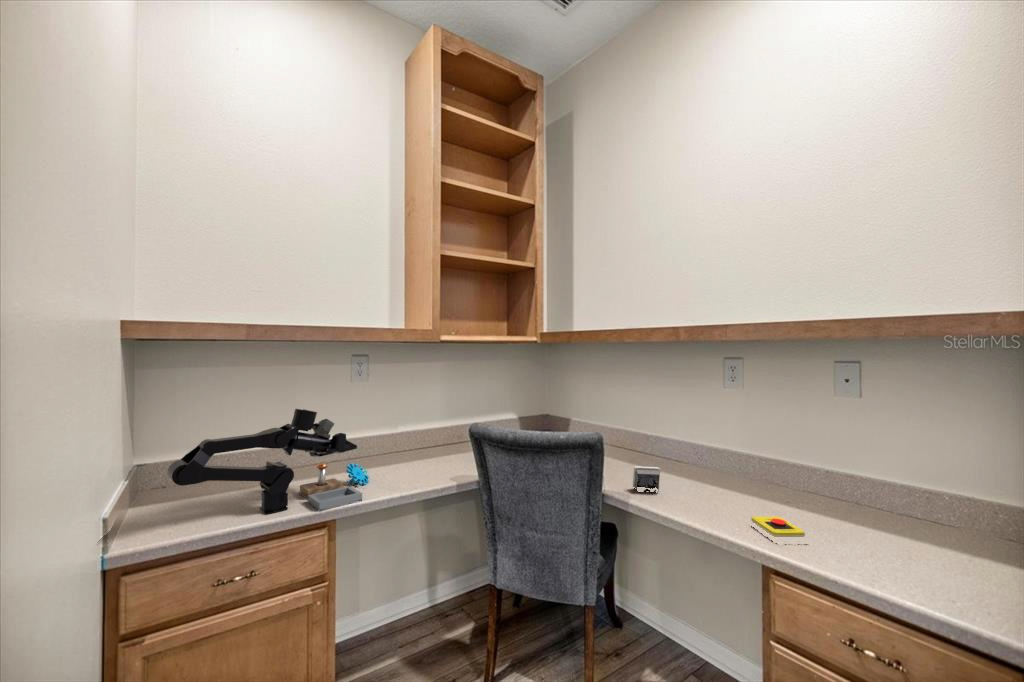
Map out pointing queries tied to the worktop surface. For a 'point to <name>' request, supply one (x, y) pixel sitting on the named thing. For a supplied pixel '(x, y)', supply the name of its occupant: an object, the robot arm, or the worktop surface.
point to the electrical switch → (646, 477)
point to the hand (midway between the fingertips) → (349, 448)
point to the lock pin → (321, 474)
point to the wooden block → (313, 487)
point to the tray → (334, 498)
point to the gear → (357, 474)
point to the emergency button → (778, 527)
